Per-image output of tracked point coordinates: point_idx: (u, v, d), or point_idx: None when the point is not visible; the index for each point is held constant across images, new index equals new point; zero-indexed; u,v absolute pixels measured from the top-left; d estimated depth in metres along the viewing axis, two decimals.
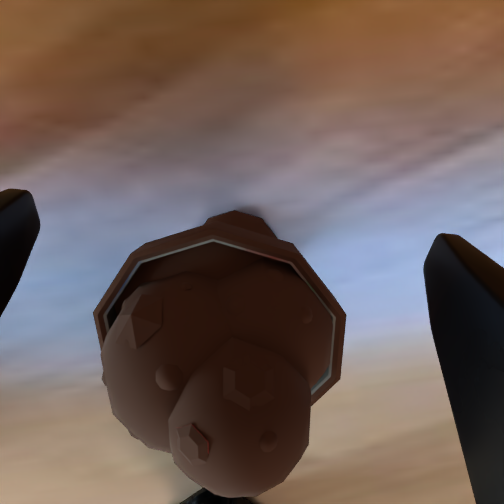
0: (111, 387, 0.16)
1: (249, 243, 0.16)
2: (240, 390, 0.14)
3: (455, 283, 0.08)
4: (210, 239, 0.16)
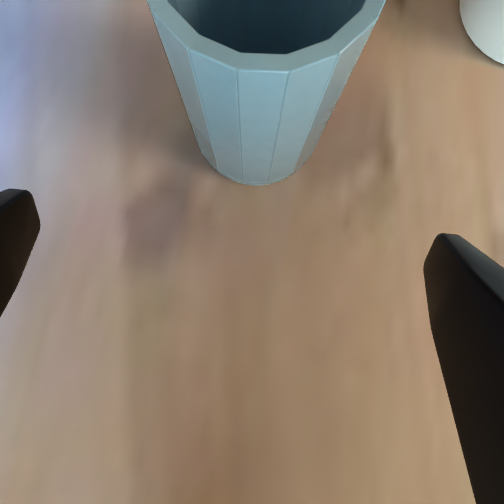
0: None
1: None
2: None
3: (455, 283, 0.08)
4: None
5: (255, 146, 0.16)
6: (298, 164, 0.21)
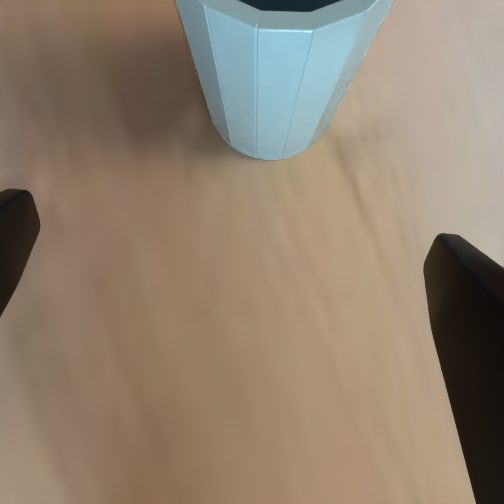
0: None
1: None
2: None
3: (455, 283, 0.08)
4: None
5: (271, 116, 0.16)
6: (314, 137, 0.21)
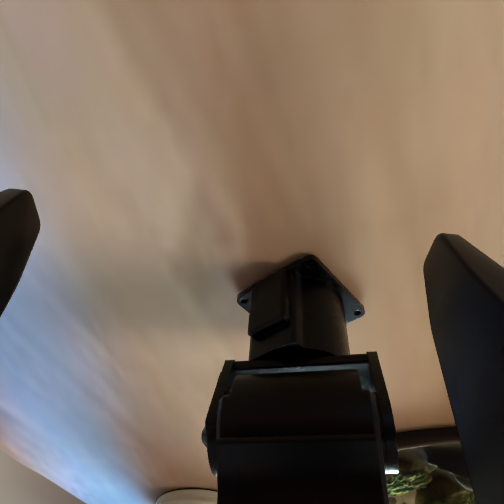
0: None
1: None
2: None
3: (455, 283, 0.08)
4: None
5: None
6: None
